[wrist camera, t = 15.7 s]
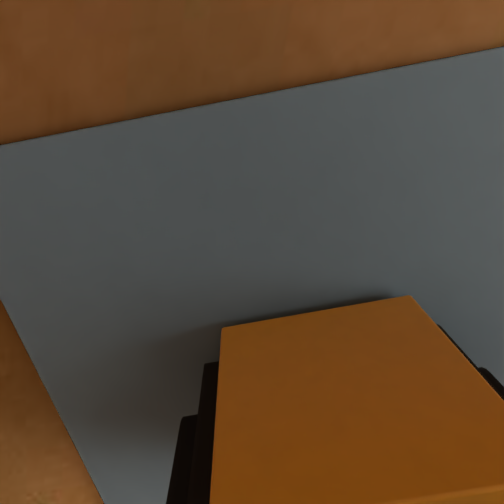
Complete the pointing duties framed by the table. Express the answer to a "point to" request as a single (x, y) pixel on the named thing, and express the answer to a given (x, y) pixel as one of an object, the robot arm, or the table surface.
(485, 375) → the robot arm
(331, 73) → the table surface
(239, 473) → the cube
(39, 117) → the table surface
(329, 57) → the table surface
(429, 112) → the mat
